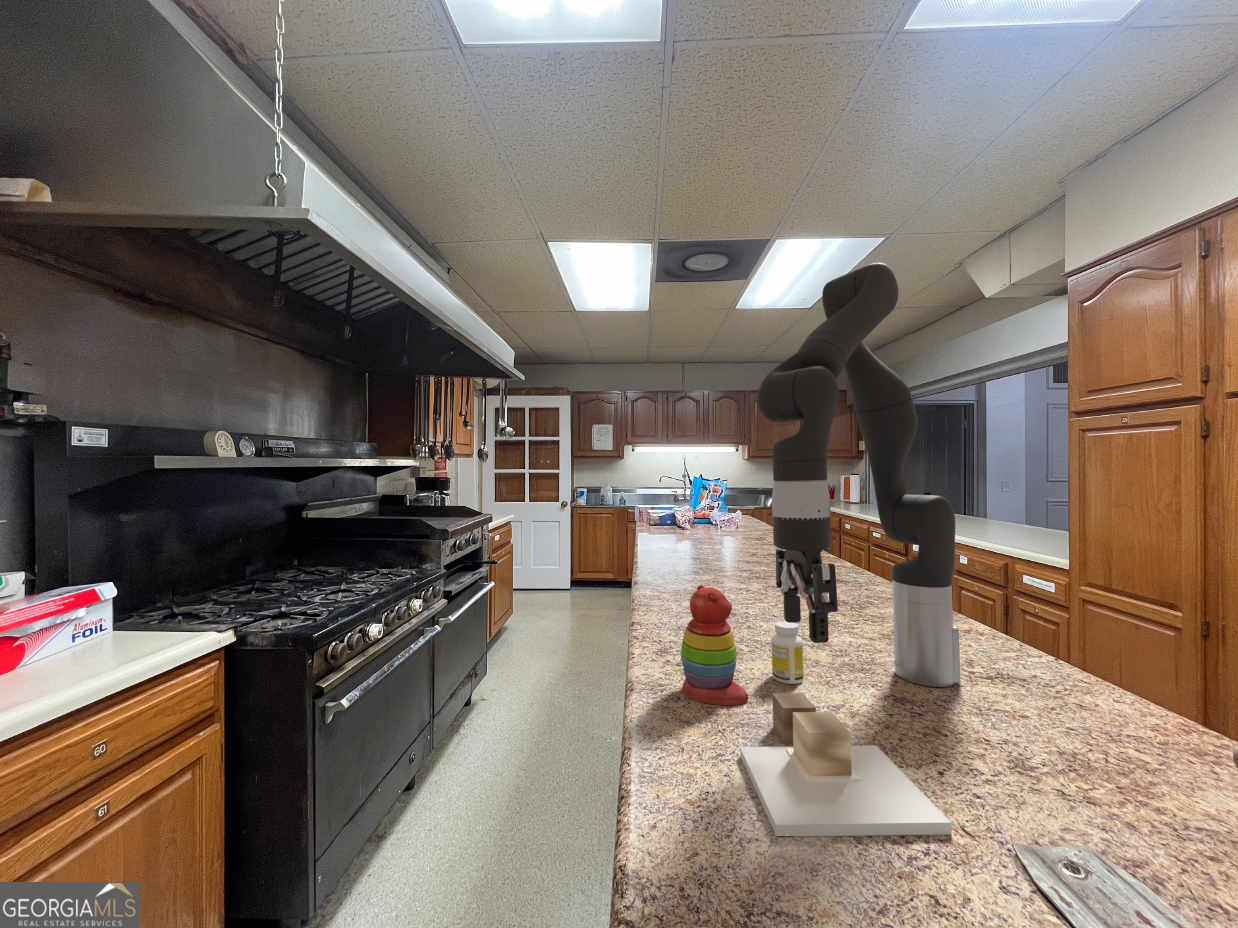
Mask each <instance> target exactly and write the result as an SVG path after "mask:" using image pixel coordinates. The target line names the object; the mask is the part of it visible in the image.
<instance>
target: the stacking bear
mask: <svg viewBox="0 0 1238 928" xmlns="http://www.w3.org/2000/svg"><path fill="white" fill-rule="evenodd" d="M689 610H690V613H691V616H692V619H691V620H689V622H688V624H687V626H686V627H685V629H684V632H683V639H682V640H681V647H680V648H681V649H680V650H681V651H680V652H681V653H680V656H681V663H682V667H683V673H684V676H685V677H684V678H685V679H684V681H683V685H682V691H683V694H684V695H685V696H687V697H688V698H689V699H691V700H694V701H696V702H699V703H702V704H703V703H704V704H709V705H710V704H711V705H719V706H735V705H743V704H747V702H748V700H749V693H748V692H747V691H746V689H745V688H743V687H742V686H741V685H739V684H738V683H737V682H735V681H734V677H735V670H736V667H737V660H738V659H737V656H738V655H737V654H738V653H737V648H736V647H737V645H736V643H735V639H734V633H733V631H732V627H731V625H730V623H728V622H727V619H728V618H729V617H730V615H731V613H732V610H733V604H732V603H731V602H730V601H729V600H728V599H727V598H726V596H725V594H724V593H723V592H722V591H720V589H717V588H715V587H704V585H703V584H700V585H698V586H697V588H696V591H694V592H693V594H692V595H691V597H690V599H689Z"/></svg>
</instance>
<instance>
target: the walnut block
mask: <svg viewBox="0 0 1238 928" xmlns="http://www.w3.org/2000/svg"><path fill="white" fill-rule="evenodd" d="M771 696H772V727H773V729H774V732H775V733H776V735H777V736H778V737H779V739H780V741H781V743H783V745H793V712H817V707H816V706H815V705H814V704H813V703H812V701H811V700H810V699H809V698H808V697H807V696H806V695H805V693H803V692H788V693H787V692H781V693H779V692H775V693H772V695H771Z"/></svg>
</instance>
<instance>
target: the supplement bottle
mask: <svg viewBox="0 0 1238 928" xmlns="http://www.w3.org/2000/svg"><path fill="white" fill-rule="evenodd" d="M774 631H775V634H774V635H772V636H771V667H772V669H771V671H772V676H773V679H774V680H775V681H777V682H779V683H782V684H785V685H787V684H788V685H797V684H798V685H799V684H801V683H802V682H803V681H804V679H805V676H804V674H805V673H804V652H803V651H804V649H803V646H804V645H803V640H802V638H801V637H800V636H799V635H798V634H799V625H798V624H797V623H796V622H795V623H788V622H787V621H778V622H777V621H776V622H775V624H774Z"/></svg>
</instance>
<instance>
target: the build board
mask: <svg viewBox="0 0 1238 928" xmlns="http://www.w3.org/2000/svg"><path fill="white" fill-rule="evenodd" d="M739 755H740V760H741V761H742V763H743V767H744V768H745V770H746V773H747V775H748V777H749V779H750V781H751V783H752V786H753V789H754V790H755V793H756V795H757V796H758V800H759V802H760V803H761V806H762V808H763V810H764V813H765V816H766V818H767V820H768V822H769V824H770V826H771V828H773V829H772V831H773V830H774V831H773V832H775V833H774V835H775V837H776V836H780V835H781V836H787V835H788V836H794V837H847V836H848V837H854V836H855V837H861V836H863V837H864V836H929V835H930V836H933V835H934V836H935V835H937V836H938V835H943V836H945V835H952V834H953V833H952V832H953V830H952V828H953V827H952V822H951V820H950V819H948V817H947V816H946V815H945V814H944V813H943V812H942V811H941V810H940V809H939V808H938V807H937V805H935V804H934V803H933V802H932V801H931V800H930V799H929V798H928V797H927V796H926V795H925V794H924V793H923V792H922V790H920V789H919V787H917V786H916V785H915V784H914V783H913V781H911V779H910V778H909V777H908V776H907V775H906V774H905V773H903V771H902V770H901V769H900V768H899V767H898V766H897V765H896V764H895V763H894V762H893V761H892V760H891V759H890V758H889V757H888V755H886V754H885V753H884V752H883V751H882V749H880V748H879V746H878V745H851V765H852V776H809V775H808V773H807V772H806V770H805V768H804V767H803V765H802V764H801V762H800V761H799V759H798V758H797V756H796V755H795V753H794V750H793V746H740V747H739Z"/></svg>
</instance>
